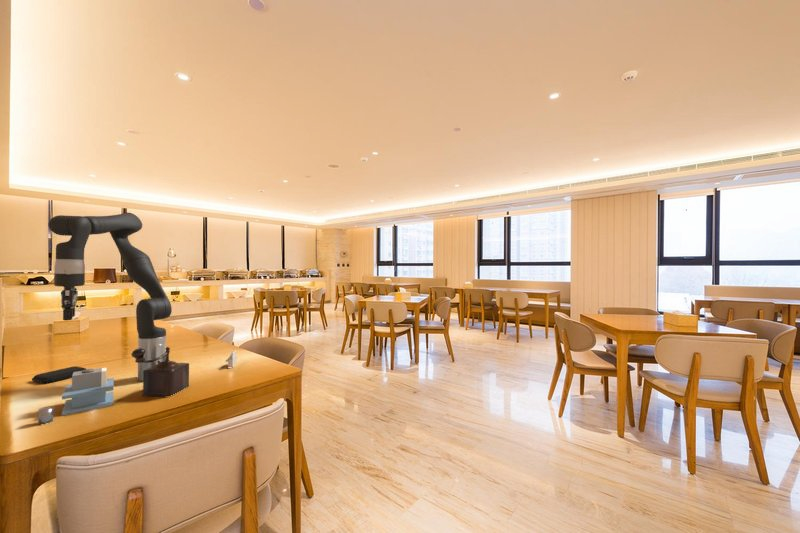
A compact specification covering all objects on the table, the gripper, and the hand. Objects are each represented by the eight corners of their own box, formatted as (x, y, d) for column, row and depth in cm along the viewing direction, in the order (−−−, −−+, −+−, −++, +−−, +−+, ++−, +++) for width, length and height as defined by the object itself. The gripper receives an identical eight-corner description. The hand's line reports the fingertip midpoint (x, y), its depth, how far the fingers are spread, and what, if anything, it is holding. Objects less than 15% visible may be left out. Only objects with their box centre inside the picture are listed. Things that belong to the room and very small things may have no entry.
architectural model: (224, 369, 148) (224, 353, 148) (229, 364, 155) (229, 349, 155) (232, 369, 149) (232, 353, 149) (237, 364, 156) (237, 349, 156)
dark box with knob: (162, 385, 126) (163, 339, 126) (189, 386, 126) (190, 340, 126) (127, 402, 111) (128, 349, 111) (158, 403, 110) (159, 350, 110)
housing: (71, 391, 104) (72, 374, 104) (73, 387, 108) (73, 370, 108) (106, 385, 110) (106, 369, 110) (106, 381, 113) (106, 365, 113)
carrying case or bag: (44, 386, 125) (91, 374, 139) (45, 378, 125) (91, 367, 139) (29, 382, 128) (76, 371, 142) (29, 375, 128) (76, 364, 142)
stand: (113, 394, 117) (113, 377, 117) (113, 405, 108) (113, 387, 108) (66, 403, 109) (66, 385, 109) (61, 415, 100) (61, 396, 100)
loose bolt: (53, 418, 98) (54, 405, 98) (52, 422, 96) (52, 409, 96) (39, 422, 96) (39, 408, 96) (37, 425, 94) (37, 412, 94)
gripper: (57, 272, 116) (56, 317, 116) (51, 272, 105) (50, 322, 105) (86, 272, 121) (85, 315, 121) (83, 272, 110) (82, 320, 110)
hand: (69, 318), depth 113 cm, fingers open, 8 cm apart
